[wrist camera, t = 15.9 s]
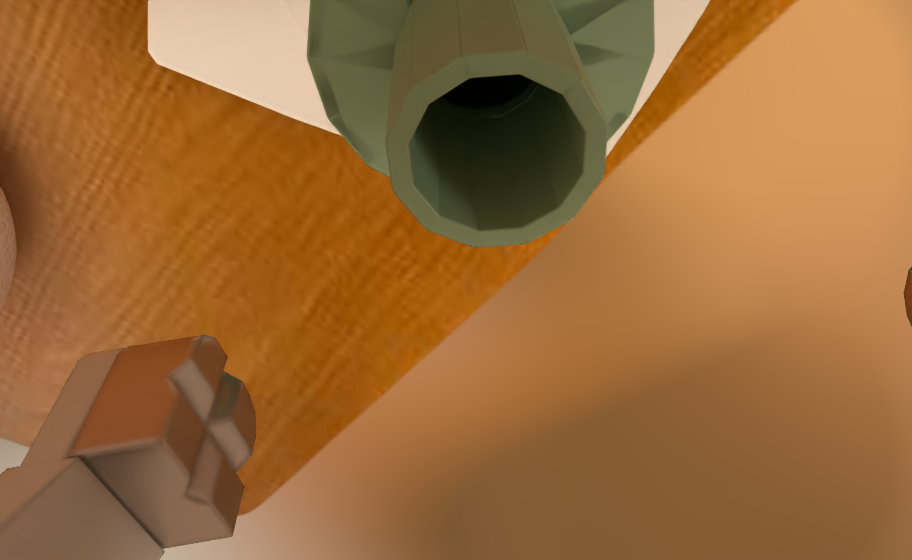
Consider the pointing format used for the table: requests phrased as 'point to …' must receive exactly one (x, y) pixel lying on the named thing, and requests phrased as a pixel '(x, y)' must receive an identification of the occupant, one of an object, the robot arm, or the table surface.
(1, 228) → the planter
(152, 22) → the plate
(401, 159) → the bottle
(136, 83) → the table surface
